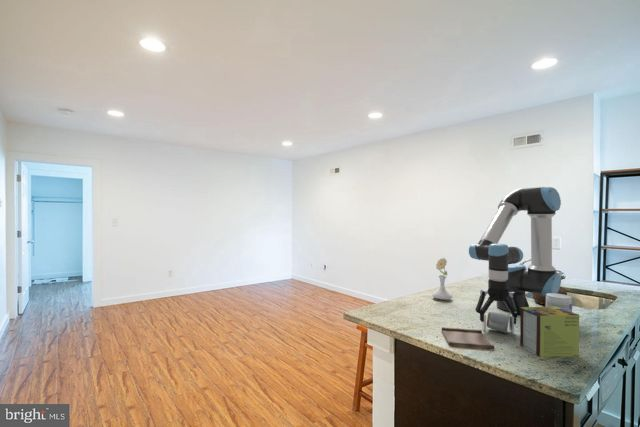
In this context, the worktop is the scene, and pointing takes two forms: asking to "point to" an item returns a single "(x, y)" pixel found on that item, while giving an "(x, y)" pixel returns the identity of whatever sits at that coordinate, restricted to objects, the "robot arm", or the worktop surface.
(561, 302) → the supplement tub
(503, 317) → the ceramic mug
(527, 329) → the protein box
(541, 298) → the bread
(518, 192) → the robot arm
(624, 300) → the worktop surface
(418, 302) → the worktop surface
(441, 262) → the flower in vase
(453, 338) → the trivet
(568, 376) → the worktop surface
